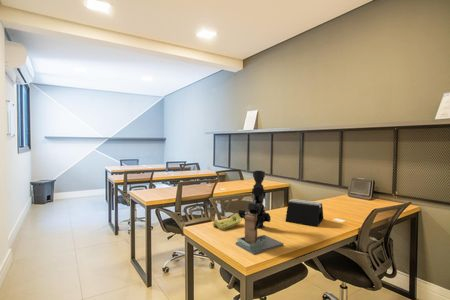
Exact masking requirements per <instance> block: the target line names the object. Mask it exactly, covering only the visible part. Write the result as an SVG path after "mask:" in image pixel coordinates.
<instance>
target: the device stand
mask: <svg viewBox="0 0 450 300" xmlns="http://www.w3.org/2000/svg"><path fill="white" fill-rule="evenodd" d="M323 209H324V208H323V202H321V201H313V200H312V201H311V200H303V199H295V198H291V199H289V201H288V202H287V209H286V214H285V222H286V223H291V224H296V225H297V224H298V225H303V226H307V227H308V226H309V227H315V228H317V227H319V225H320V224H321V223H322V222H323V221H324V210H323Z"/></svg>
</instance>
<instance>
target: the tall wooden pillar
mask: <svg viewBox="0 0 450 300" xmlns="http://www.w3.org/2000/svg"><path fill="white" fill-rule="evenodd" d="M247 213H248V214H247V215H246V216H245V219H244V237H245V242H247V243H255V242H256V241H257V237H258V228H257V229H256V230H255V226H256V223H257V215H256V214H249V213H250V212H247Z"/></svg>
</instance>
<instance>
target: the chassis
mask: <svg viewBox="0 0 450 300" xmlns="http://www.w3.org/2000/svg"><path fill="white" fill-rule="evenodd" d="M235 245H236V246H238V247H239V248H241V249H243V250H244V251H247V252H249V253H250V254H252V255H256V254H260V253H263V252H267V251H270V250H272V249H276V248H280V247H283V246H284V242H281V241H280V240H277V239H274V238H272V237H270V236H268V235H266V234H263V235H259V236H258V235H257V241H256V242H255V243H247V242H245V236H242V237H238V238H237V241H235Z"/></svg>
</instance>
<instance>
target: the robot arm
mask: <svg viewBox="0 0 450 300" xmlns="http://www.w3.org/2000/svg"><path fill="white" fill-rule="evenodd" d="M265 174H266V173H265V171H263V170H254V171H252V177H253V181H254V182H255V183H254V184H253V188H252V190H251V195H252V196H253V197H252V198H253V201H252V203H247V208H246V209H247V210H248V212H247V211H246V209H240V208H239V209H238V211H237V213H238V214H239V216H240V218H242V219H243V220H245V216H246V215H247V214H248V213H249V214H256V215H257V223H256V226H255V230H256V229H257V230H258V229H262V228H265V226H266V225H264V223H270V222H271V220H272V219H271V217H272V216H270V214H269V212H266V211H265V210H264V206H263V202H264V196H265V195H266V190H265V189H264V185H263V184H262V183H263V182H264V179H265V177H266V175H265Z"/></svg>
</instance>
